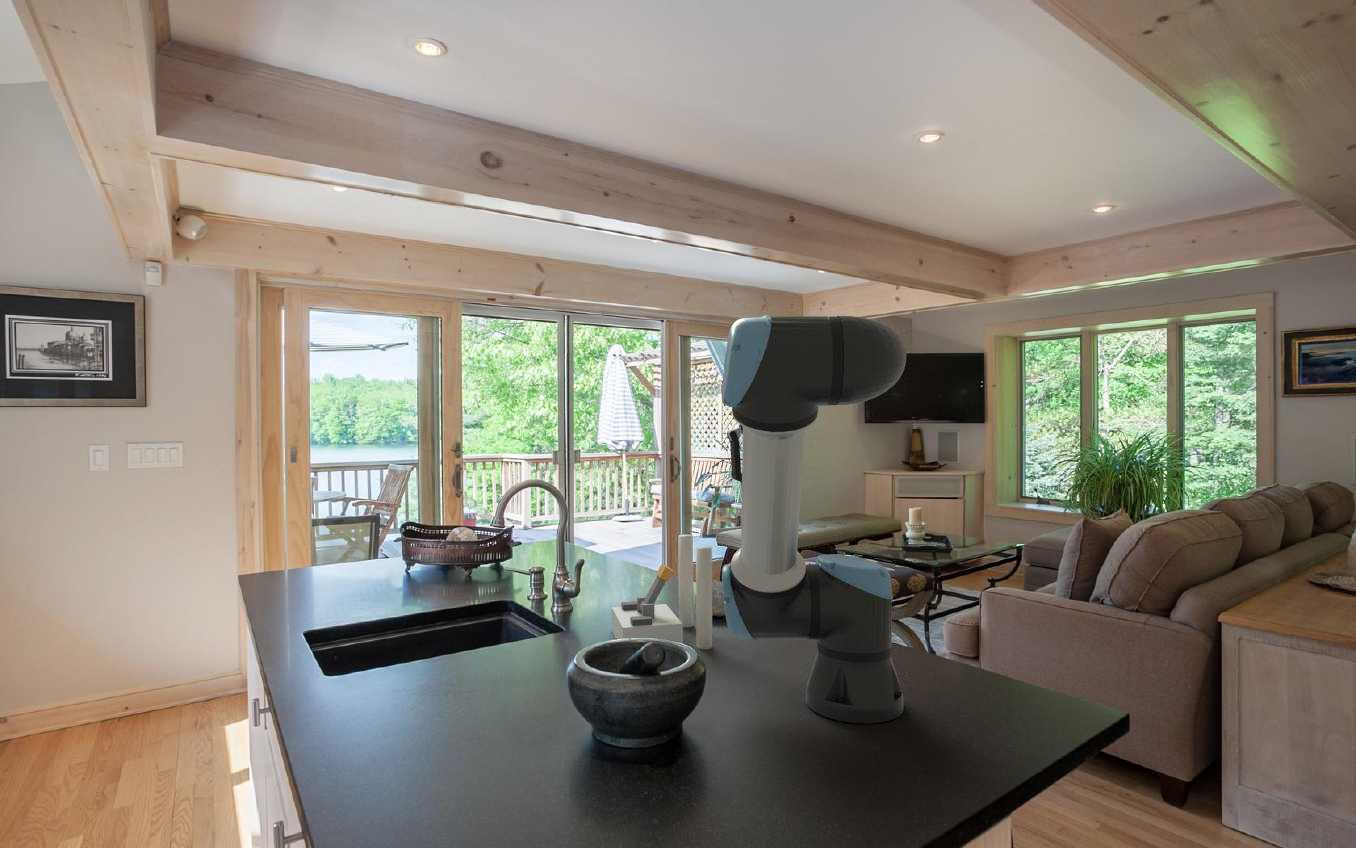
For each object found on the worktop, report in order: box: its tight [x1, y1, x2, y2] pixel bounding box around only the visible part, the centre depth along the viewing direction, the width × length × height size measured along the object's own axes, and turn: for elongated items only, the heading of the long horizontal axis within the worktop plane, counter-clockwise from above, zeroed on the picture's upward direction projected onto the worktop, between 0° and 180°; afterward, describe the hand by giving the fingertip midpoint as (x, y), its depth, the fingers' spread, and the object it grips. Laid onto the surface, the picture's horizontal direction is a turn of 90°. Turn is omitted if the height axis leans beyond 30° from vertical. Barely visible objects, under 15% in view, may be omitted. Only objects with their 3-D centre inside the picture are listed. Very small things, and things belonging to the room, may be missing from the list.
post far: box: [677, 534, 694, 629], centre depth 160 cm, size 3×3×20 cm
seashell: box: [693, 578, 726, 617], centre depth 170 cm, size 9×12×15 cm
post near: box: [695, 545, 713, 650], centre depth 145 cm, size 3×3×20 cm
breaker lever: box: [639, 563, 675, 611], centre depth 151 cm, size 4×2×10 cm, turn 13°
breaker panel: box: [611, 596, 684, 643], centre depth 150 cm, size 16×12×8 cm
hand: (760, 515), depth 143 cm, fingers open, 4 cm apart
